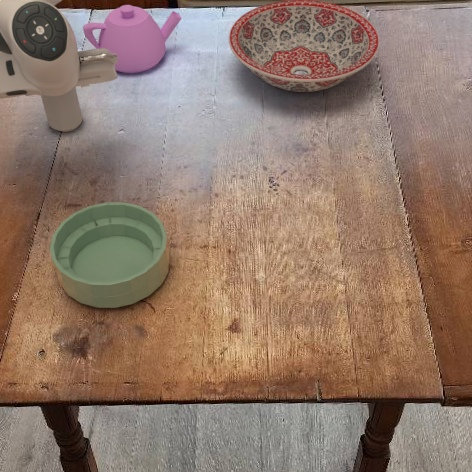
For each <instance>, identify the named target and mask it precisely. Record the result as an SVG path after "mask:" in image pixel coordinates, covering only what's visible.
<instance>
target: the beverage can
mask: <svg viewBox="0 0 472 472" xmlns="http://www.w3.org/2000/svg"><path fill="white" fill-rule="evenodd" d="M40 97H41V101H42V104H43V108H44V112H45V116H46V120H47V123H48V125H49V127H50V128H51V129H53V130H56V131H59V132H61V133H62V132H67V133H68V132H71V131H74V130H76V129H78V127H79V126H80V125H81V123H82V122H83V114H82V109H81V105H80V101H79V97H78V92H77V88H76V87H73V88H72V89H71V90H70V91H69V92H67V93H65V94H63V95H60V96H46V95H40Z"/></svg>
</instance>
